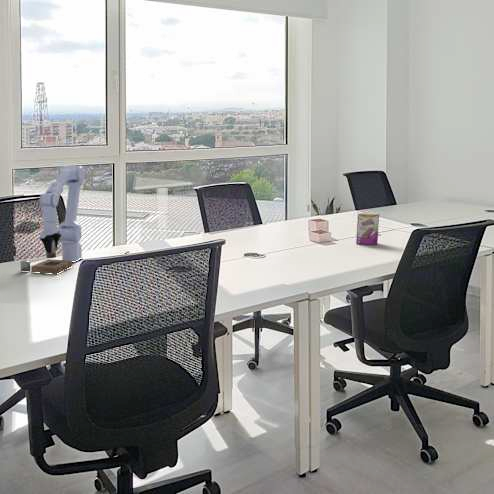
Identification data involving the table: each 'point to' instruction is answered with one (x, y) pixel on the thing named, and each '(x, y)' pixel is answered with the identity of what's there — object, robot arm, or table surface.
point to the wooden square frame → (51, 266)
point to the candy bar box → (367, 228)
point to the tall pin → (53, 252)
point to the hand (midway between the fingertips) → (51, 251)
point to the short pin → (25, 265)
